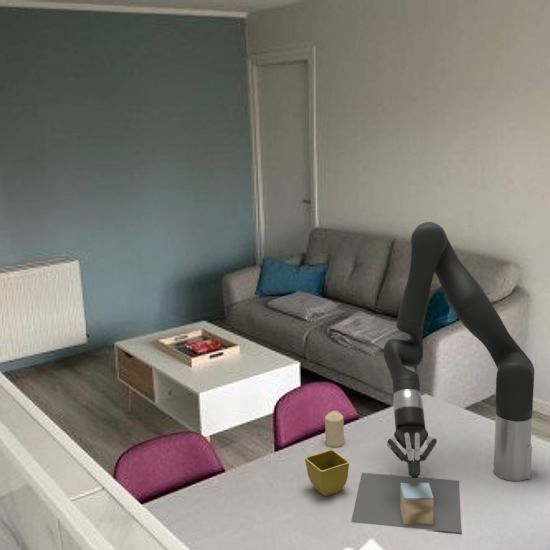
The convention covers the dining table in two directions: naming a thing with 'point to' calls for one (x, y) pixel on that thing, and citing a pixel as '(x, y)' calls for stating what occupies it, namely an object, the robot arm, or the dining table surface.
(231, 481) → the dining table surface
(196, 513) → the dining table surface
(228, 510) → the dining table surface
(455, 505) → the mat
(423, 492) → the cube
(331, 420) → the candle
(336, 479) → the flower pot
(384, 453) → the dining table surface
